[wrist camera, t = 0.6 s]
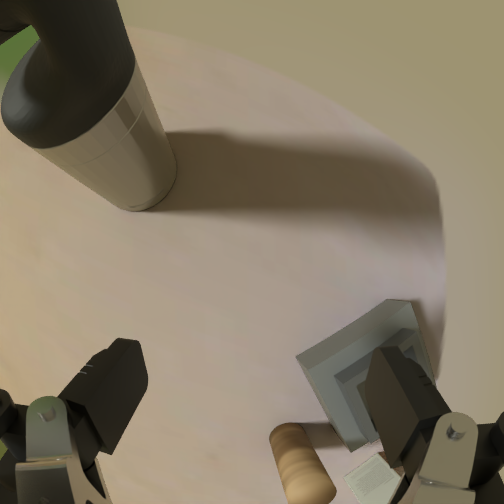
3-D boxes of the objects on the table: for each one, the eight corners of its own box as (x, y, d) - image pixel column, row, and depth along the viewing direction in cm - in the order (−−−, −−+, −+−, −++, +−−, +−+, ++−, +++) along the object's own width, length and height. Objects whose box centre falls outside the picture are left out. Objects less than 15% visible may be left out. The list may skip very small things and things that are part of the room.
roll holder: (295, 356, 30) (315, 378, 22) (386, 299, 31) (424, 303, 24) (336, 433, 29) (359, 463, 22) (415, 378, 31) (449, 395, 23)
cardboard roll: (263, 432, 28) (280, 496, 17) (296, 417, 29) (327, 475, 17) (278, 455, 28) (299, 517, 16) (309, 439, 29) (342, 497, 17)
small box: (394, 472, 29) (436, 514, 16) (362, 495, 28) (396, 543, 15) (377, 451, 29) (424, 498, 16) (341, 476, 29) (377, 531, 16)
